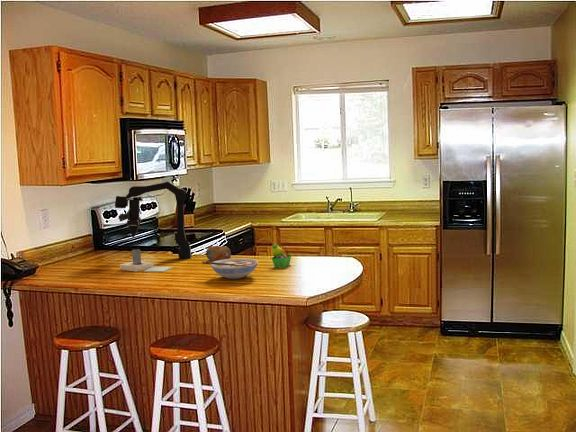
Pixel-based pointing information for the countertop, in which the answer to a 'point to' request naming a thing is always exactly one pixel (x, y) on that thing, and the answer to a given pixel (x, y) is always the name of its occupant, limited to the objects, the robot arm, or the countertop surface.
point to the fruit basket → (280, 257)
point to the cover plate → (136, 266)
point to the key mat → (158, 269)
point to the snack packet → (218, 253)
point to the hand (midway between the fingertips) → (133, 236)
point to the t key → (136, 257)
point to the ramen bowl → (233, 267)
